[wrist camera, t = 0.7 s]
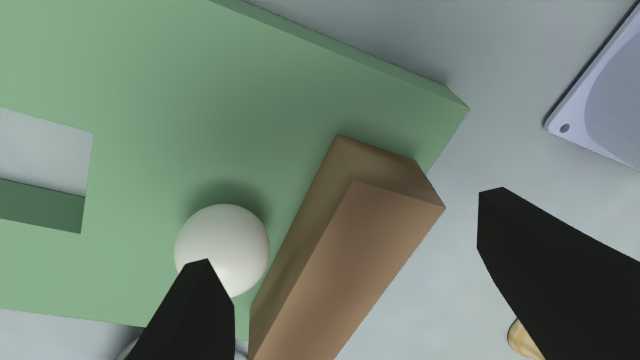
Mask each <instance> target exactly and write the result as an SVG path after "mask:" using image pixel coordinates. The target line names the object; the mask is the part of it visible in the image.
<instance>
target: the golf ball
mask: <svg viewBox="0 0 640 360" xmlns="http://www.w3.org/2000/svg"><path fill="white" fill-rule="evenodd" d="M206 258H208V260H209V261H210V263H211V265H212V267H213V268H214V270H215V272H216V274H217V276H218V277H219V279H220V281H221V283H222V284H223V286H224V288H225V290H226V292H227V293H228V295H229V297H230V298H231V297H235V296H238V295H240V294H242V293H244V292H246V291H248V290H249V289H250V288H252V287H253V286H254V285H255V284H256V283H257V282H258V281H259V280H260V278H261V277H262V275H263V274H264V272H265V270H266V268H267V265H268V262H269V258H270V241H269V236H268V233H267V231H266V229H265V227H264V225H263V223H262V222H261V221H260V220H259V219H258V218H257V217H256V216H255V215H254V214H253V213H252V212H250V211H249V210H247V209H245V208H243V207H240V206H237V205H233V204H216V205H211V206H208V207H205V208H203V209H201V210H199V211H198V212H196V213H195V214H193V215H192V216H191V217H190V218H189V219H188V220H187V221H186V222H185V223H184V224H183V226H182V228H181V229H180V231H179V233H178V235H177V238H176V241H175V246H174V261H175V266H176V269H177V271H178V274H179V273H180V271H181V270H182V268H183V266H184V265H185V264H186V263H190V262H194V261H198V260H202V259H206Z"/></svg>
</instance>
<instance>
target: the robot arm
mask: <svg viewBox="0 0 640 360" xmlns="http://www.w3.org/2000/svg"><path fill="white" fill-rule="evenodd" d="M563 125H564V127H563V128H561V127H562V126H563ZM544 127H545V129H546V130H547V131H548V132H550V133H551V134H554V135H556V136H558V137H561V138H563V139H565V140H568V141H570V142H572V143H575V144H577V145H580V146H582V147H584V148H587V149H589V150H591V151H594V152H596V153H599V154H601V155H603V156H606V157H608V158H610V159H613V160H615V161H617V162H620V163H622V164H625V165H627V166H629V167H632V168H634V169H635V170H637V171H638V172H640V3H639V4H638V5H637V7H636V8H635V9H634V10H633V12H632V13H631V14H630V15H629V17H628V18H627V19H626V20H625V22H624V23H623V24H622V25H621V27H620V28H619V29H618V30H617V32H616V33H615V34H614V36H613V37H612V38H611V39H610V41H609V42H608V43H607V44H606V46H605V47H604V48H603V49H602V51H601V52H600V53H599V54H598V56H597V57H596V58H595V60H594V61H593V62H592V63H591V65H590V66H589V67H588V68H587V70H586V71H585V72H584V73H583V75H582V76H581V77H580V78H579V80H578V81H577V82H576V84H575V85H574V86H573V87H572V89H571V90H570V91H569V92H568V94H567V95H566V96H565V97H564V99H563V100H562V101H561V102H560V104H559V105H558V106H557V107H556V109H555V110H554V111H553V113H552V114H551V115H550V116H549V118H548V119H547V120H546V122H545V125H544ZM560 128H561V129H560ZM477 249H478V251H479V254H480V256H481V258H482V260H483V262H484V264H485V266H486V268H487V270H488V272H489V274H490V276H491V277H492V279H493V281H494V283H495V285H496V286H497V288H498V289H499V291H500V292H501V294H502V295H503V297H504V298H505V300H506V301H507V303H508V304H509V306H510V307H511V309H512V310H513V312H514V313H515V315H516V316H517V318H518V319H519V321H520V322H521V324H522V325H523V327H524V328H525V330H526V331H527V333H528V334H529V336H530V337H531V339H532V340H533V342H534V343H535V345H536V346H537V348H538V349H539V351H540V352H541V354H542V355H543V357H544V358H545V360H640V262H639V261H637V260H635V259H633V258H631V257H629V256H627V255H625V254H623V253H621V252H619V251H617V250H615V249H613V248H611V247H609V246H607V245H605V244H603V243H601V242H599V241H597V240H595V239H594V238H592V237H590V236H588V235H586V234H584V233H582V232H581V231H579V230H577V229H575V228H573V227H572V226H570V225H568V224H566V223H565V222H563V221H561V220H559V219H557V218H556V217H554V216H552V215H551V214H549V213H547V212H545V211H544V210H542V209H540V208H538V207H537V206H535V205H533V204H532V203H530V202H528V201H527V200H525V199H523V198H521V197H520V196H518V195H516V194H515V193H513V192H511V191H509V190H508V189H506V188H504V187H499V188H495V189H491V190H487V191H483V192H479V206H478V229H477ZM234 354H235V308H234V304H233V302H232V300H231V299H230V297H229V295H228V293H227V292H226V290H225V288H224V286H223V284H222V283H221V281H220V279H219V277H218V276H217V274H216V272H215V270H214V268H213V267H212V265H211V263H210V261H209V260H208V258H206V259H202V260H198V261H194V262H190V263H186V264H185V265H184V266H183V268H182V270H181V271H180V273H179V274H178V276H177V278H176V279H175V281H174V283H173V284H172V286H171V287H170V289H169V291H168V292H167V294H166V296H165V297H164V299H163V301H162V302H161V304H160V306H159V307H158V309H157V310H156V312H155V314H154V315H153V317H152V319H151V320H150V322H149V323H148V325H147V326H146V328H145V330H144V331H143V333H142V334H141V336H140V337H139V339H138V341H137V342H136V344H135V345H134V347H133V348H132V350H131V351H130V353H129V354H128V356H127V357H126V359H125V360H234Z"/></svg>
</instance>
